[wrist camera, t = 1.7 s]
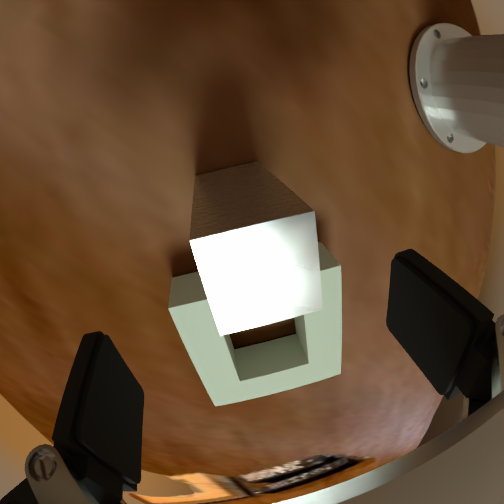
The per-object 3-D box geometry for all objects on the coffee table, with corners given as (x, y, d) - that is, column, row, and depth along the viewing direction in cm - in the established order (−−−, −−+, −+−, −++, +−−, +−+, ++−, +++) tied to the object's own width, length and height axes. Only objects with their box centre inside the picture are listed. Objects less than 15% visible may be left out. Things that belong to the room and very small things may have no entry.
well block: (320, 241, 23) (340, 265, 20) (326, 345, 29) (340, 373, 25) (171, 277, 23) (168, 308, 19) (212, 375, 28) (215, 406, 25)
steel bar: (258, 161, 20) (314, 211, 10) (268, 219, 22) (322, 309, 12) (195, 175, 20) (189, 240, 10) (210, 233, 22) (220, 335, 12)
